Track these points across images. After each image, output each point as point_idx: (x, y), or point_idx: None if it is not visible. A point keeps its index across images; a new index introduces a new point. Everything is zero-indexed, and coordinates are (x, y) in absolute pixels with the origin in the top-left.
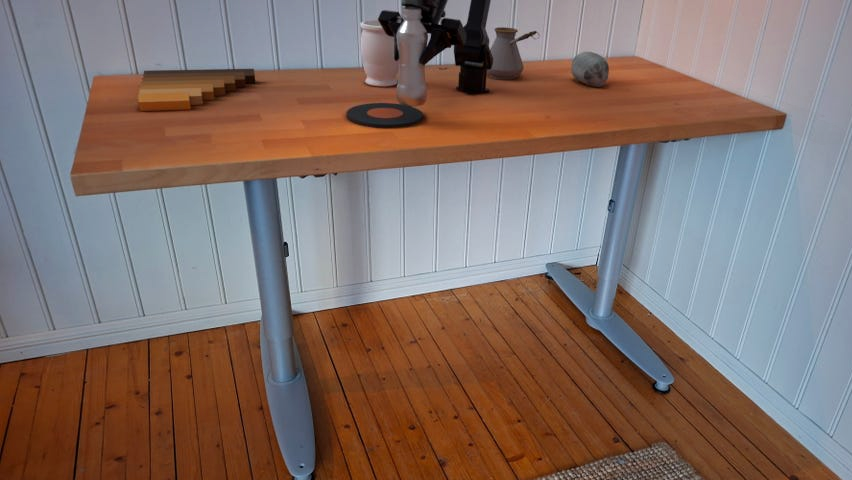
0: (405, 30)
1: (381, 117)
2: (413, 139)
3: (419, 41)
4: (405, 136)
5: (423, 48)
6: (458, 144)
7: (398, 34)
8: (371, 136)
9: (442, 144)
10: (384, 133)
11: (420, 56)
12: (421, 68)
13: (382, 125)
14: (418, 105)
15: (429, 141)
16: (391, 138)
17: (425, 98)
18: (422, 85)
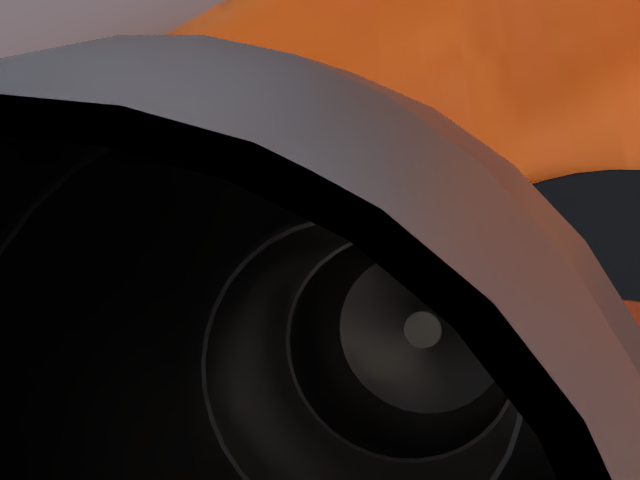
0: (251, 74)
1: (623, 301)
2: (389, 34)
3: (59, 158)
4: (435, 67)
5: (97, 264)
6: (190, 30)
7: (574, 237)
8: (623, 10)
9: (254, 7)
10: (557, 83)
11: (201, 248)
12: (256, 278)
13: (589, 172)
14: (366, 262)
15: (312, 29)
16: (503, 13)
17: (313, 298)
18: (303, 283)
